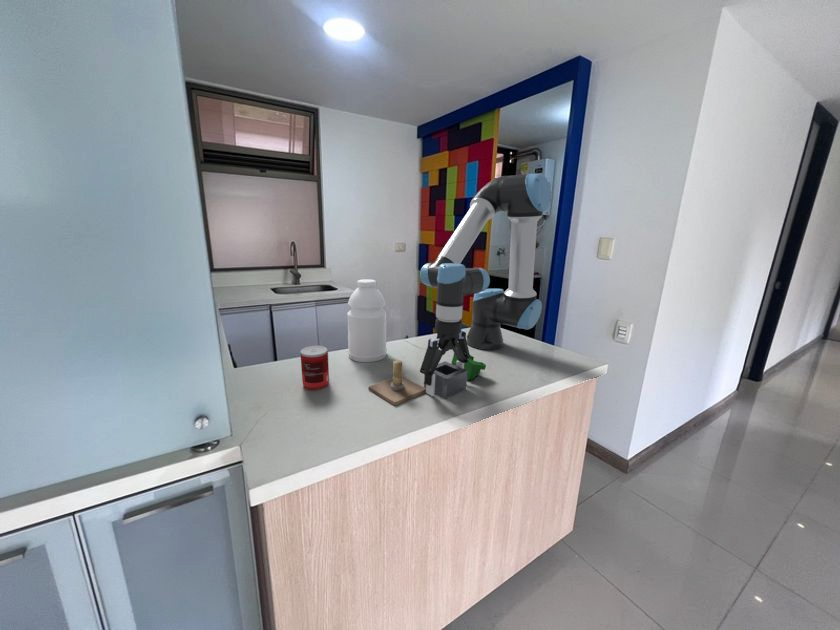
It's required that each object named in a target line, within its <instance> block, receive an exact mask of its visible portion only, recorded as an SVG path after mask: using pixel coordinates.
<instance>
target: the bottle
mask: <svg viewBox="0 0 840 630" xmlns="http://www.w3.org/2000/svg"><path fill="white" fill-rule="evenodd" d="M356 286H357V287H356V288H355V289H354V291H353V292H352V293H351V295H350V297H349V299H348V301H347V305H348V306H349V307H350V310H349V311H348V312H347V314H346V316H347V343H348V344H347V345H348V351H347V353H348V354H347V355H348V357H349V358H350V359H351V360H352V361H354V362H355V361H356V362H360V363H374V362H378V361H381V360H383V359H385V358H386V356H387V311H386V310H385V309H384V307H385V306H386V304H387V302H386V298H385V297H384V295H383V293H382V292H381V291H380V290H379V288H377V280H375V279H367V278H365V279H363V278H362V279H359V280H356Z"/></svg>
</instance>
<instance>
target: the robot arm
mask: <svg viewBox="0 0 840 630" xmlns="http://www.w3.org/2000/svg"><path fill="white" fill-rule="evenodd" d="M551 191H552V190H551V185H550V182H549V180H548V178H547V177H546V175H544V174H542V173H530V172H529V173H526V174H515V175H503V176H498V177H495V178H494V179H491V180H490V181H489V182H487V183H486V184H485V185H484V186H483V187H482V188H480V190H478V192H476V194H475V195H474V196H473V197H472V199H471V201H470V203H469V209H468V211H467V212H466V214H465V215H464V216H463V218H462V219H461V221H460V223H459V224H458V225H457V227H456V228H455V230H454V232H453V233H452V234H451V236H450V238H449V239H448V240H447V242H446V243H445V245H444V247H443V248H442V250H440V253H439V254H438V256H437V258H435V260H434V261H433V262H429V263H428V262H427V263H425V264H424V265H423V266H422V267H421V268H420V271H419V278H420V281H421V283H423V285H425V286H428V287H431V288H435V289H436V307H435V308H436V309H435V317H436V319H435V326H434V327H435V328H434V329H435V332H436V338H434V339H432V338H428V341H427V348H426V351H425V354H424V357H423V359H422V362H421V367H420V368H419V373H421V374H423V375H424V374H425V384H426V392H425V393H426V394H427V395H429V396H431V397H434V396H435V394H436V393H435V374H433V373H434V371H435V369H436V367H437V365H438V364H439V363H440V362H441V359H442V357H443V356H444V355H446V353H447V352H448V351H450V350H451V351H453V354H454V353H455V355H456V357H457V358H458V360H459V361H458V360H457V361H456V366H458V367H460V368H463V369H465V368H464V367H465V363H468V359H469V358H470V355H471V354H470V350H469V347H471V348H475V349H478V350H488V351H492V350H493V351H495V350H500V349H501V348H503V346H504V338H503V332H502V329H501V325H506V326H510V327H514V328H518V329H524V330H530V329H532V328H534V327H535V325H536V324H537V322H538V320H539V319H540V317H541V314H542V310H543V303H542V301H541V299H537V296H538V295H537V292H536V291H535V290H534V288H533V287H534V275H535V274H534V273H535V259H536V246H537V245H536V244H537V234H538V233H537V231H538V230H537V229H538V222H539V220H541V218H542V217H543V213H544V212H546V211H547V210H549V207H550V204H551V198H552V193H551ZM499 212H507V213H506V214H507V215H506V218H507V219H508V220H509V221H510V223H511V225H510V245H509V246H510V247H509V248H510V249H509V267H508V268H509V269H508V271H509V272H508V288H507V289H506V290H505V291H504V289H503V288H489V286H490V283H491V279H490V275H489V273H488V271H487V269H486V270H485V269H484V268H482V267H471V268H470V267H466V265H464V264H462V261H463V260H464V258H465V257H466V255H467V253H468V252H469V250H470V249H471V247H472V245H473V244H474V243H475V241H476V239H477V238H478V236H479V235H480V233H481V232H482V230H483V229H484V227H485V225H486V224H487V222H488V221H489V220H492V219H493V218H494V217H495V215H496V214H497V213H499ZM468 295H473V300H472V303H473V304H472V316H471V326H470V327H469V331H468V333H467V332H466V331H464V330H462V328H463V320H462V319H463V313H464V298H465V297H464V296H468ZM430 369H431V370H430Z"/></svg>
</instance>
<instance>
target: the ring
mask: <svg viewBox="0 0 840 630" xmlns="http://www.w3.org/2000/svg"><path fill="white" fill-rule="evenodd" d="M430 370H431V369H430ZM433 374H435V393H434V394H436V395H438V396H441V397H442V398H444V399H445V400H446V399H448V398H451V397H452V396H454V395H457V394H459V393H461V392H463V391H465V390H467V382H468V380H467V370H465V369H463V368H460V367H458V366H455V365H453V364H451V363H450V362H448V361H443V362H439V363H438V365H437V367H436V369H435V371H434V373H433ZM423 376H424V379H423V387H424V388H426V384H425V374H423Z"/></svg>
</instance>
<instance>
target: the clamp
mask: <svg viewBox="0 0 840 630" xmlns="http://www.w3.org/2000/svg"><path fill="white" fill-rule="evenodd" d="M474 358H475V357H474V356H472V355H471V354H470V358H469V359H468V363H465V367H464V368H465V370H467V381H469V380H470V381H473V380H474V379H475V378H476V377H479V376H480V373H481V370H482V371H484V370H486V367H487V364H486V363H484V362H483V361H477V360H474ZM457 360H458V358H457V357H456V355H455V353H454V352H453V356H452V360H451V363H450V364H453V365H455V366H456V361H457ZM458 361H459V360H458Z"/></svg>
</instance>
